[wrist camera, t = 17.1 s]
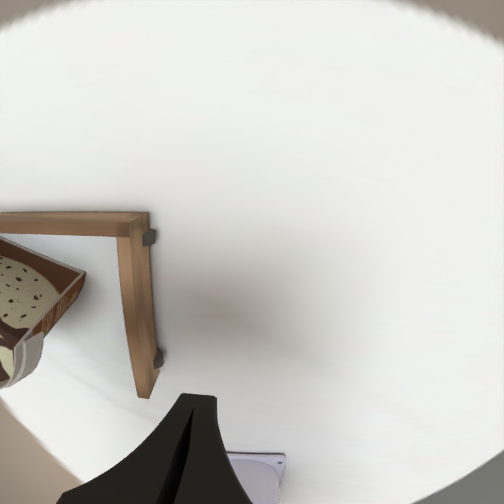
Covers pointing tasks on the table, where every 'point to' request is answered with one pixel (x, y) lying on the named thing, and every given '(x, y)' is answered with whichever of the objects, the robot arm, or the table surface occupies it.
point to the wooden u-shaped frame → (130, 272)
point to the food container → (30, 306)
